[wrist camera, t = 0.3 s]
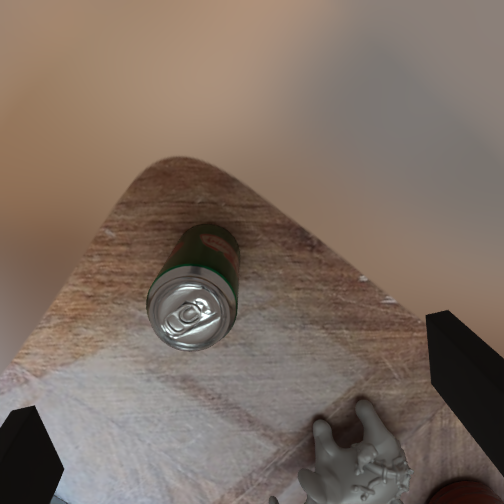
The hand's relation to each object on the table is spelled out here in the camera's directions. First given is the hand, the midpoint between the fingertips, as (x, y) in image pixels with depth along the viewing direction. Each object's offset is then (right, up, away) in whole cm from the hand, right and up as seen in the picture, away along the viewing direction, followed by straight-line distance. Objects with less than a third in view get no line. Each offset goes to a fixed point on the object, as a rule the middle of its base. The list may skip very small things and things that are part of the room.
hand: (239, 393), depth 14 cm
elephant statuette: (+8, -13, +25) cm, 30 cm away
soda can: (-3, +5, +20) cm, 21 cm away
